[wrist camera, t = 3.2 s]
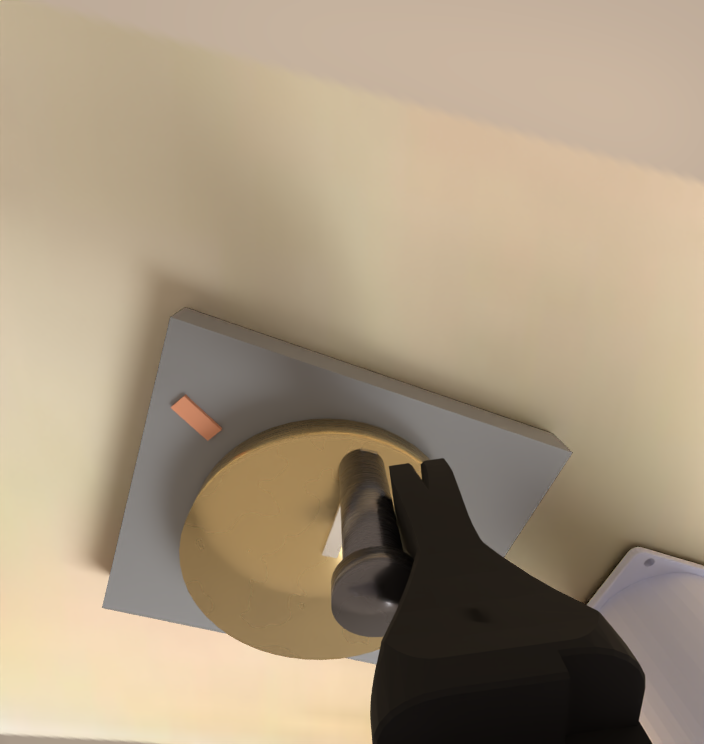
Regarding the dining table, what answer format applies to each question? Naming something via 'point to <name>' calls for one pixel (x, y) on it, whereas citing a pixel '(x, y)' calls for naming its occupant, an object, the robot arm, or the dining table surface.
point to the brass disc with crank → (301, 539)
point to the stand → (285, 405)
